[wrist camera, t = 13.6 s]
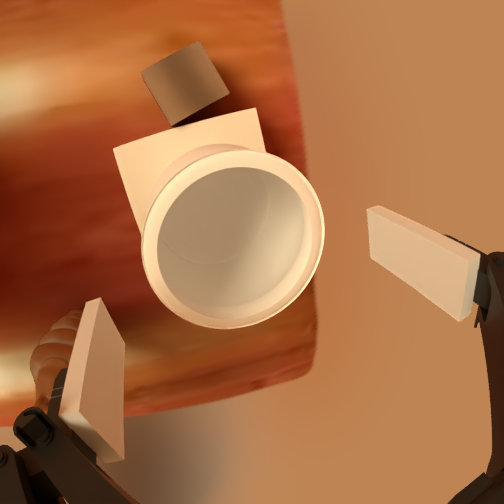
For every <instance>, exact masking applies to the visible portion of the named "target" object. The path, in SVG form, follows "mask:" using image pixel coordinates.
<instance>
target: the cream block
mask: <svg viewBox="0 0 504 504" xmlns="http://www.w3.org/2000/svg"><path fill="white" fill-rule="evenodd" d="M210 144H233V145H238V146H242V147H245V148H248V149H251V150H258V151H262V152H266V150H265V146H264V141H263V137H262V132H261V128H260V124H259V119H258V115H257V111H256V108H251V109H246V110H241V111H237V112H233V113H228V114H224V115H220V116H216V117H212V118H209V119H205V120H201V121H197V122H194V123H190V124H186V125H183V126H180V127H176V128H173V129H169V130H166V131H163V132H160V133H156V134H153V135H150V136H147V137H144V138H141V139H138V140H135V141H132V142H129V143H126V144H124V145H121V146H118V147H116V148H113V151H114V154H115V158H116V161H117V164H118V168H119V171H120V174H121V177H122V180H123V183H124V187H125V190H126V193H127V196H128V199H129V202H130V205H131V208H132V210H133V213H134V216H135V219H136V222H137V225H138V228H139V230H140V233H141V236H142V230H143V225H144V221H145V217H146V209H147V204H148V200H149V197H150V194H151V191H152V189H153V187H154V185H155V183H156V181H157V180H158V178H159V177H160V175H161V174H162V172H163V171H164V170H165V169H166V168H167V167H168V166H169V165H170V164H171V163H172V162H173V161H174V160H175V159H177V158H178V157H179V156H181V155H183V154H184V153H186V152H188V151H190V150H192V149H195V148H198V147H201V146H205V145H210Z"/></svg>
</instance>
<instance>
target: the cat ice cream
mask: <svg viewBox="0 0 504 504" xmlns="http://www.w3.org/2000/svg"><path fill="white" fill-rule="evenodd" d="M83 311H84V309H75V310H71V311H70V312H69V313H68V314H67V315H64V316H63V317H61V318H60V319H59V320H58V321H56V322H55V323H54V324H53V325H52V327H51V329H50V331H49V332H47V333H46V334H44V335H43V336H42V337H41V339H40V341H39V346H37V347H36V348H35V349H34V351H33V354H32V356H31V360H30V370H31V373H32V376H33V378H34V382H35V384H36V402H35V405H34V407H39V408H40V409H42V410H43V411H44V412H45V414H46V415H47V411H48V406H49V402H50V399H51V393H52V391H53V385H54V381H55V378H56V377H57V375H58V373H59V372H60V370H61V369H63V368H67V367H69V363H70V359H71V355H72V351H73V347H74V343H75V339H76V336H77V332H78V328H79V325H80V321H81V318H82V314H83Z"/></svg>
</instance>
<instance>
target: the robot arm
mask: <svg viewBox="0 0 504 504" xmlns="http://www.w3.org/2000/svg"><path fill="white" fill-rule="evenodd" d="M367 219H368V231H369V247H370V258H371V259H373V260H374V261H376V262H377V263H378V264H380V265H381V266H383V267H384V268H386V269H387V270H389V271H390V272H391V273H393V274H394V275H396V276H397V277H399V278H400V279H401V280H403V281H404V282H406V283H407V284H408V285H410V286H411V287H413V288H414V289H415V290H417V291H418V292H419V293H421V294H423V295H424V296H425V297H427V298H428V299H429V300H430V301H432V302H433V303H435V304H436V305H437V306H438V307H440V308H441V309H443V310H444V311H445V312H447V313H448V314H449V315H451V316H452V317H453V318H454V319H456V320H457V321H458V322H460V321H461V320H463V319H464V318H466V317H467V316H468V315H470V314H471V309H472V305H473V301H474V302H475V303H477V304H478V305H479V306H478V311H477V316H476V320H475V325H474V327H475V328H476V327H477V324H478V322H480V328H481V333H482V339H483V345H484V350H485V358H486V364H487V373H488V381H489V390H490V403H491V419H492V455H491V459H490V462H489V465H488V468H487V472H486V474H485V473H482V474H481V475H480V476H479V477H477V478H476V479H475V480H474V481H473V482H472V483H470V484H469V485H468V486H467V487H465V488H464V489H463V490H462V491H460V492H459V493H458V494H456V495H455V496H454V497H453V498H452V499H451V500H450V502H449V503H448V504H504V252H492V253H490V254H489V255H486V254H484V253H482V252H481V251H479V250H477V249H475V248H473V247H471V246H469V245H467V244H466V245H465V243H463V242H461V241H458V240H457V239H455V238H453V237H451V236H448V235H444V234H440V233H438V232H436V231H434V230H432V229H430V228H427V227H426V226H423V225H421V224H419V223H417V222H415V221H413V220H411V219H408V218H406V217H404V216H402V215H399V214H397V213H395V212H393V211H391V210H388V209H386V208H384V207H382V206H379V205H378V206H375V207H371V208H368V209H367ZM124 363H125V343H124V341H123V339H122V337H121V335H120V334H119V332H118V330H117V328H116V326H115V324H114V322H113V321H112V319H111V317H110V315H109V313H108V311H107V309H106V307H105V305H104V303H103V301H102V299H101V297H100V298H97V299H94V300H91V301H88V302H86V304H85V308H84V311H83V314H82V318H81V321H80V325H79V328H78V332H77V336H76V339H75V343H74V347H73V351H72V355H71V359H70V363H69V367H67V368H63V369H61V370H60V372H59V373H58V375H57V377H56V378H55V381H54V385H53V391H52V393H51V399H50V402H49V406H48V411H47V415H46V414H45V412H44V411H43V410H42V409H40V408H39V407H30V408H27V409H26V410H24V411H23V412H21V414H20V415H19V416H18V417H17V419H16V420H15V422H14V427H13V431H14V435H15V436H16V437H17V438H18V439H19V440H20V441H22V442H23V443H24V444H25V445H26V446H27V447H26V448H24V449H22V450H20V451H18V452H15V451H14V450H13V449H12V448H11V447H9V446H8V445H1V446H0V504H66V502H65V500H64V498H65V499H66V501H67V502H68V503H69V504H140V503H138V502H137V501H136V500H135V499H134V498H133V497H131V496H130V495H129V494H128V493H127V492H126V491H124V490H123V489H122V488H121V487H120V486H119V485H118V484H117V483H116V482H115V481H114V480H112V479H111V478H110V477H109V476H108V475H107V474H106V473H105V472H104V471H103V470H102V469H101V468H100V467H99V466H98V465H97V464H96V455H97V456H98V457H99V458H101V459H102V460H103V461H104V462H105V463H109V462H115V461H121V460H124V433H123V397H124ZM63 497H64V498H63Z"/></svg>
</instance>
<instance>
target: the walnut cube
mask: <svg viewBox="0 0 504 504" xmlns="http://www.w3.org/2000/svg"><path fill="white" fill-rule="evenodd" d="M141 75H142V78H143V80H144V82H145V84H146V85H147V87H148V89H149V91H150V92H151V94H152V96H153V97H154V99H155V101H156V102H157V104H158V106H159V107H160V109H161V111H162V112H163V114H164V116H165V117H166V119H167V121H168V122H169V124H170V126H172V125H174V124H176V123H177V122H179V121H181V120H183V119H184V118H186V117H188V116H189V115H191V114H193V113H195V112H196V111H198V110H200V109H202V108H204V107H205V106H207V105H209V104H211V103H213V102H215V101H217V100H218V99H220V98H222V97H224V96H226V95H228V94H230V93H229V91H228V89H227V87H226V86H225V84H224V82H223V80H222V79H221V77H220V75H219V73H218V72H217V70H216V68H215V66H214V65H213V63H212V61H211V60H210V58H209V56H208V54H207V53H206V51H205V49H204V48H203V46H202V44H201V43H200V41H197V42H195V43H193V44H191V45H189V46H187V47H185V48H183V49H181V50H179V51H177V52H175V53H174V54H172V55H170V56H168V57H166V58H164V59H162V60H161V61H159V62H157V63H155V64H153V65H152V66H150V67H148V68H146V69H145V70H143V71H141Z"/></svg>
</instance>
